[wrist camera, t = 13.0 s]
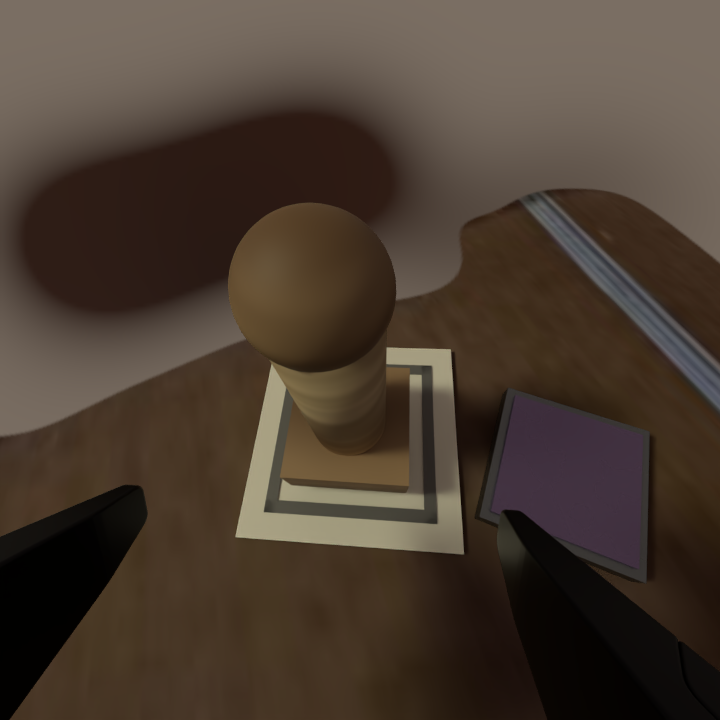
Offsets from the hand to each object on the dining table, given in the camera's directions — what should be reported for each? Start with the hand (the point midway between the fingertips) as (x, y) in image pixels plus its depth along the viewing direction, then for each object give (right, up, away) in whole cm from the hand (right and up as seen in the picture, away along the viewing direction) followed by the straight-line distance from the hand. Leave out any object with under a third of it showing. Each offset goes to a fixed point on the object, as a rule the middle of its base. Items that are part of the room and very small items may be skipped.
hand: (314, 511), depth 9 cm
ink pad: (+11, -2, +9) cm, 15 cm away
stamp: (+1, -1, +10) cm, 10 cm away
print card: (+1, 0, +11) cm, 11 cm away
